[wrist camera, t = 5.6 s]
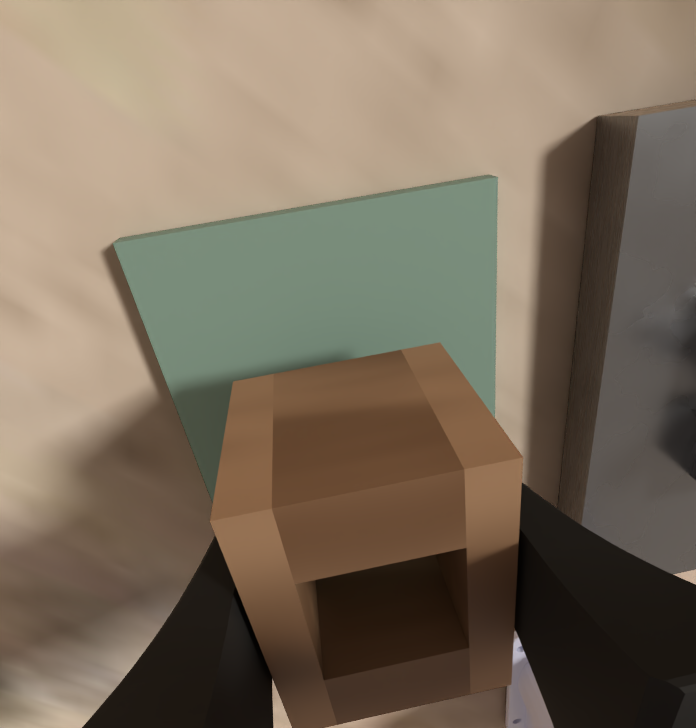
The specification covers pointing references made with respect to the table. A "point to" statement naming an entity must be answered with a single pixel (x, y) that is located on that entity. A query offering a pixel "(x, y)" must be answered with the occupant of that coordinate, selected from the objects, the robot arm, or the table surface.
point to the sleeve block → (371, 533)
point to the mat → (316, 293)
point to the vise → (637, 342)
